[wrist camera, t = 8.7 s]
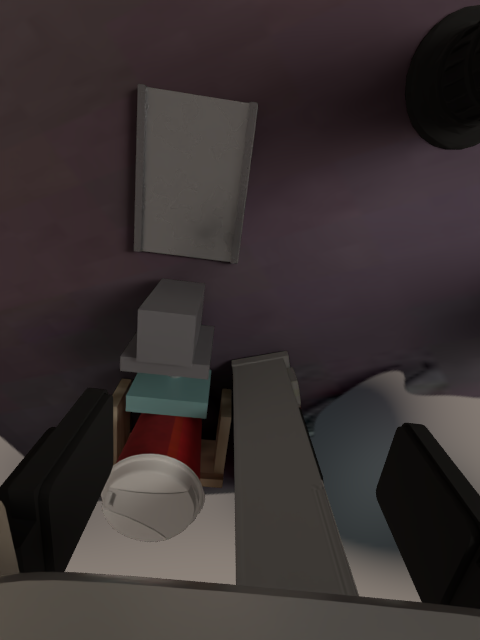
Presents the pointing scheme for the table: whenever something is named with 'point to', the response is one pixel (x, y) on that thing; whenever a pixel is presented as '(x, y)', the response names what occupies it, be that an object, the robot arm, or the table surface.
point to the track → (191, 173)
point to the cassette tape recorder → (281, 487)
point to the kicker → (170, 353)
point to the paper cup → (156, 479)
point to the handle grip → (447, 82)
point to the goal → (210, 449)
